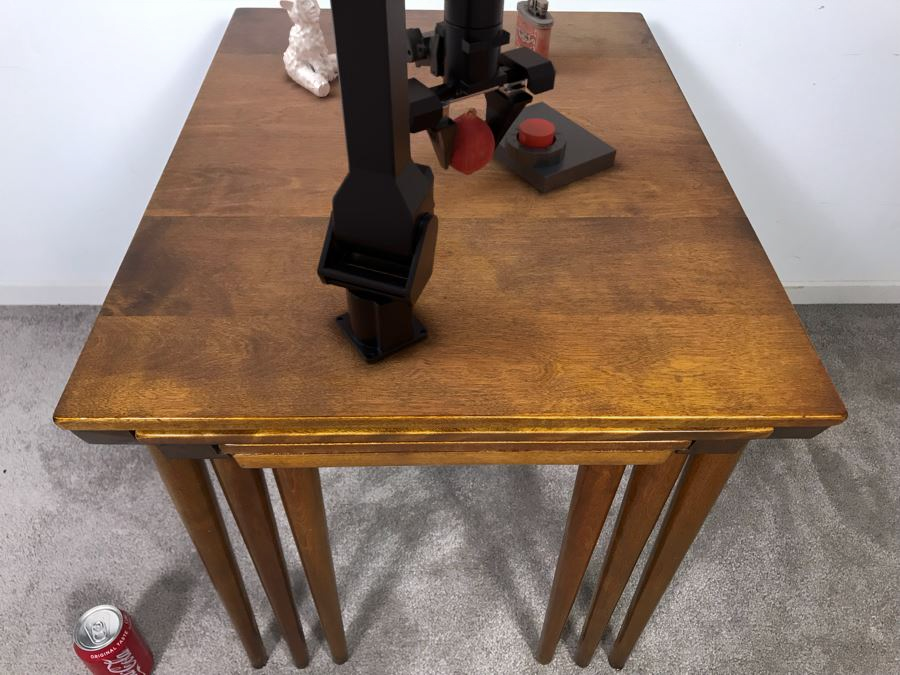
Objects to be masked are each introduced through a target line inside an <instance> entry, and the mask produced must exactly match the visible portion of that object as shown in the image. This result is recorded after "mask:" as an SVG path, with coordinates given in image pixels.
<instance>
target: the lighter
mask: <svg viewBox="0 0 900 675" xmlns="http://www.w3.org/2000/svg"><path fill="white" fill-rule="evenodd" d="M548 10H549V0H520V1H518V2H517V3H516V11H517V16H516V26H515V39H514V48H513V49H516V48H520V47H524V46H526V47H528V48H530V49H532V50H533V51H535V52H537V53H538V54H540V55H542V56H543V57H545V58H547V59H548V60H549V52H550V43H551V36H552V28H553V27H554V23H555V19H554V17H553V16H552V14H551V13H550V12H549V11H548Z"/></svg>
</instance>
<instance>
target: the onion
mask: <svg viewBox="0 0 900 675" xmlns="http://www.w3.org/2000/svg"><path fill="white" fill-rule="evenodd" d="M453 120H454V121H455V122H457V128H456V134H455V140H454V146H453V152H452V158H451V162H450V165H449V167H451V168H452V169H454V170H455V171H457V172H459V173H461V174H462V175H465V176H471V175H473V174H474V173H475V172H477V171H480V170H482V169H483V168H484V167H486V166H487V165H488V164H489V163H490V161H491V160H492V158H493V157H494V156H493V153H494V147H495V141H494V136H493V133H492V131H491V129H490V128H489V126H488V124H487V123H486V122H485V121H484V120H485V119H482V118H481V117H479V116H478V115H477V109H476V108H475V107H469V108H468V109H466V110H465V111H464V112H463V113H462V114H460V115H458V116H456V117H455V118H453Z"/></svg>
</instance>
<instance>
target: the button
mask: <svg viewBox="0 0 900 675" xmlns="http://www.w3.org/2000/svg"><path fill="white" fill-rule="evenodd" d="M554 132H555V127H554V125H553V124H552V123H551V122H549V121H547V120H543V119H528V120H525V121H523V122H522V123H521V124H520V131H519V142H520V143H521V144H523V145H524V146H528V147H532V148H545V147H548V146H551V145H552V144H553V139H554Z"/></svg>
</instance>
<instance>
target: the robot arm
mask: <svg viewBox="0 0 900 675" xmlns="http://www.w3.org/2000/svg"><path fill="white" fill-rule="evenodd" d="M443 1H444V2H443V21H440V22H436V24H435V27H434V30H430V31H425V32H422V31H421V29H420V27H409V28H407V20H406V18H407V17H406V0H329V5H330V6H329V7H330V13H331V22H332V31H333V32H332V33H333V39H334V40H333V42H334V49H335V50H334V51H335V54H336V59H337V68H338V76H337V78H338V86H339V94H340V103H341V113H342V120H343V129H344V140H345V147H346V155H347V156H346V158H347V164H348V165H347V166H348V168H347V169H348V172H347V173H346V175H345V177H344V179H343V180H342V182H341V184H339V187H338V188H337V190H336V191H335V193H334V195H333V196H332V199H331V208H332V209H331V211H330V215H329V220H328V225H327V229H326V233H325V237H324V241H323V245H322V247H321V248H322V249H321V252H320V257H319V261H318V265H317V267H316V268H317V269H316V274H317V276H318V278H319V281H320V282H321V284H322V285H326V286H329V285H331V286H335V287H339V288H341V289H345V296H346V305H347V311H346V312H344V313H341V314H339V315H337V316H335V318H334V323H335V325H336V326H337V328H338V329H339V330H340V332H341V333H342V334H343V335H344V336H345V338H346V339H347V340H348V342H349V343H350V344H351V345H352V347H353V348H354V349H355V351H356V352H357V353H358V354H359V355H360V357H361V358H362V359H363V360H364V362H366V364H372V363H375V362H378V361H379V360H381V359H383V358H386V357H388V356H390V355H392V354H394V353H397V352H399V351H401V350H403V349H406V348H408V347H410V346H412V345H414V344H416V343H419V342H420V341H423V340H425V339H427V338H428V337H429V330H428V329H427V328H426V326H425V325H424V324H423V323H422V322H421V321H420V320H419V319H418V317H416V316H415V314H414V307H415V306H416V304H417V302H418V300H419V298H420V296H421V295H422V293H423V291H424V290H425V288H426V286H427V285H428V282H429V281H430V279H431V277H432V275H433V272H434V271H433V270H434V264H435V255H436V249H437V248H436V247H437V242H438V240H437V239H438V231H439V218H438V216H437V214H435V207H436V202H435V195H434V192H435V191H434V188H435V173H434V172H433V170H432V167H431V165H427V164H422V163H418V162H414V160H413V159H412V154H411V134H412V135H414V134H419V133H420V132H421V133H422V132H425V131H426V134H427V136H428V138H429V140H430V143H431V146H432V148H433V150H434V153H435V156H436V158H437V161H438V164H439V166H440V168H442V169H443V170H445V171H447V170H449V168H450V162H451V158H452V152H453V146H454V140H455V134H456V128H457V122H455V121H454V118H451V117H450V106H451V104H454V103H457V102H460V101H463V100H467V99H470V98H474V97H477V96H480V95H484V98H485V104H486V105H485V119H484V120H485V122H486V123H487V124H488V126H489V128H490V129H491V131H492V133H493V136H494V141H495V147H494V151H495V150H496V148H497V146H498V145H499V143H500V142H501V140H502V139H503V137H504V136H505V134H506V132H507V131H508V130H509V128H510V126H511V125H512V124H513V122H514V121H515V120H516V118H517V117H518V116H519V114H520V113H521V112H522V110H523V109H524V108H525V107H526V106H528V104H531V103H533V101H534V96H537V95H539V94H543V93H547V92H550V91H553V90H554V88H555V81H556V75H557V70H556V68H555V65H554V63H553V62H552V61H551V60H550V59H549V58H548V59H547V58H545V57H543V56H542V55H540V54H538V53H537V52H535V51H533V50H532V49H530V48H528V47H526V46H524V47H520V48H516V49H514V48H513V49H510V50H506V51H502V47H503V46H505V45H509V44H511V43H510V42H511V32H509V31H507V30H505V29H504V28H503V25H504V24H503V23H504V11H505V10H504V9H505V0H443ZM413 63H414V66H415V68H417V69H419V68H421V67H429V70H430V72H429V73H430V74H431V75H433V76H434V77H436V78H442V83H441V84H437V85H434V86H430V87H428V86H427V85H425V84H424V83H423V82H421V81H420V80H419V79H418V78H416V77H411V78H409V74H408V73H409V72H408V70H409V69H408V64H413ZM526 90H527V91H526ZM528 91H529V92H530V93H529V92H528Z"/></svg>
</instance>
